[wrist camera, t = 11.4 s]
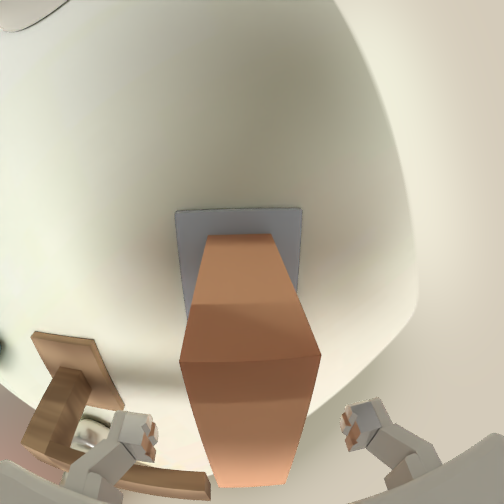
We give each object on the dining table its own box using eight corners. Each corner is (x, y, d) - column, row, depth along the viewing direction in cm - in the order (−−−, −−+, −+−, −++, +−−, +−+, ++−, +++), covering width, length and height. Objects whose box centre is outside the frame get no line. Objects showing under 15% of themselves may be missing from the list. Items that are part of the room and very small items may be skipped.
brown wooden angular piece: (34, 331, 20) (-19, 409, 9) (205, 345, 21) (195, 475, 10) (69, 394, 24) (39, 467, 13) (216, 411, 25) (215, 509, 14)
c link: (207, 235, 17) (179, 361, 7) (270, 233, 17) (321, 355, 7) (219, 370, 22) (219, 487, 11) (266, 368, 22) (284, 483, 12)
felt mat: (176, 211, 17) (174, 213, 16) (300, 208, 17) (302, 210, 17) (199, 376, 23) (198, 380, 22) (286, 372, 23) (287, 377, 23)
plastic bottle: (99, 412, 25) (64, 544, 6) (131, 439, 27) (111, 559, 9) (70, 413, 25) (33, 526, 7) (100, 439, 28) (76, 545, 9)
